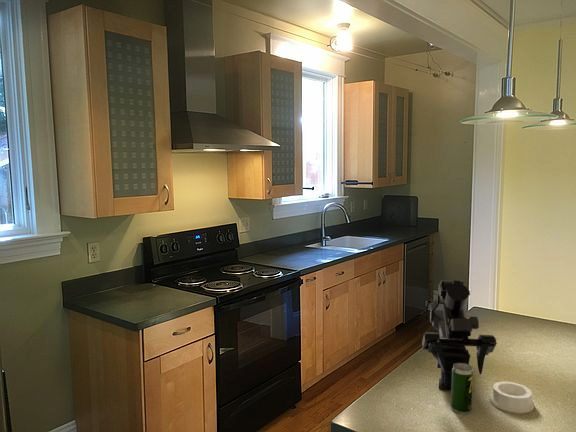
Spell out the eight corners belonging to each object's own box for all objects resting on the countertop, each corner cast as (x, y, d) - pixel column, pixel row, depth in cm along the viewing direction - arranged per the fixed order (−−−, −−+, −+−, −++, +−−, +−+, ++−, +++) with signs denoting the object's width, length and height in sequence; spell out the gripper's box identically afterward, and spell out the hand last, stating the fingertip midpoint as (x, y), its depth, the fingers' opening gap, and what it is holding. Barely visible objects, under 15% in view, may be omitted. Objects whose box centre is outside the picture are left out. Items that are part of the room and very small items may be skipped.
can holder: (488, 391, 138) (489, 378, 138) (531, 397, 134) (531, 383, 134) (490, 409, 128) (491, 395, 127) (536, 417, 124) (537, 402, 124)
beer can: (450, 412, 127) (451, 369, 125) (451, 402, 131) (452, 361, 130) (471, 416, 125) (473, 372, 123) (471, 406, 130) (473, 364, 128)
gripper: (424, 303, 131) (430, 357, 121) (496, 306, 129) (507, 361, 119) (420, 322, 139) (424, 374, 129) (486, 325, 137) (496, 379, 127)
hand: (462, 372), depth 126 cm, fingers open, 9 cm apart
